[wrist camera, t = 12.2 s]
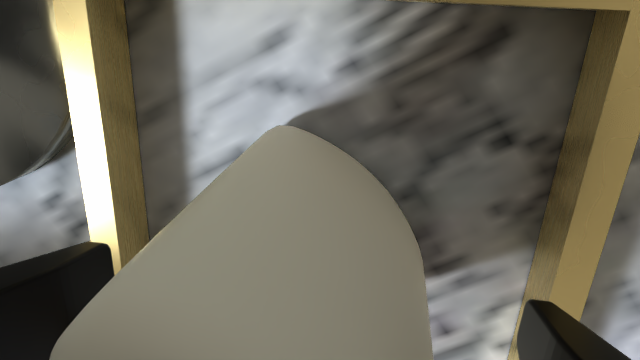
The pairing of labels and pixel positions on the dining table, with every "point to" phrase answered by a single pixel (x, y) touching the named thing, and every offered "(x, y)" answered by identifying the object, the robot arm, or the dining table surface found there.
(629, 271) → the dining table surface
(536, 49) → the dining table surface
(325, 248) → the eye dropper bottle
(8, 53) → the crank base
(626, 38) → the gold square frame
